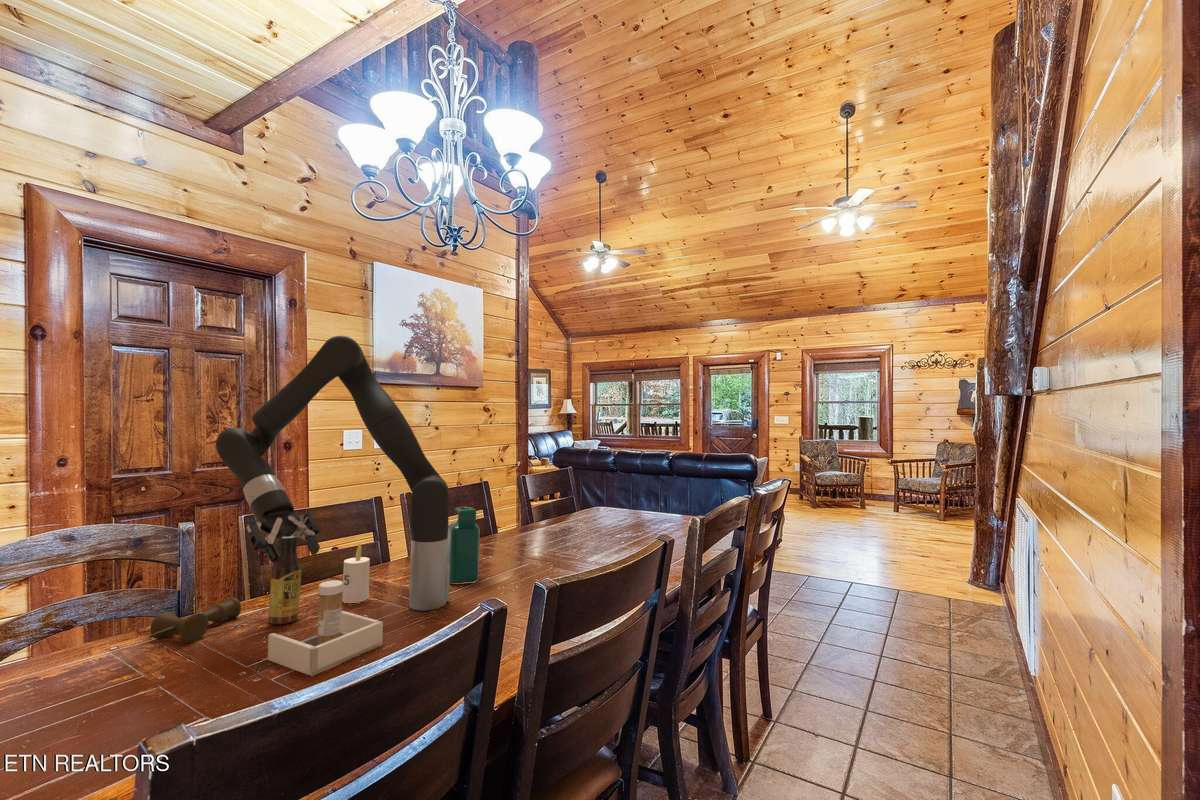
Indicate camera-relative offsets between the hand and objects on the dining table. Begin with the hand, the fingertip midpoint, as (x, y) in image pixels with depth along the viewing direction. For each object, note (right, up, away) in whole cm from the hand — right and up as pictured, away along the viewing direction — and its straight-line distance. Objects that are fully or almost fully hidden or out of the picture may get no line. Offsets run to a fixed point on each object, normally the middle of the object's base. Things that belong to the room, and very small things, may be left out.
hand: (297, 556), depth 117 cm
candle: (+1, -19, +26) cm, 32 cm away
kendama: (-25, -18, +3) cm, 31 cm away
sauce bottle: (-9, -19, +11) cm, 24 cm away
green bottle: (+25, -20, +44) cm, 54 cm away
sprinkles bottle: (+9, -18, -5) cm, 21 cm away
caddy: (+9, -18, -5) cm, 21 cm away
